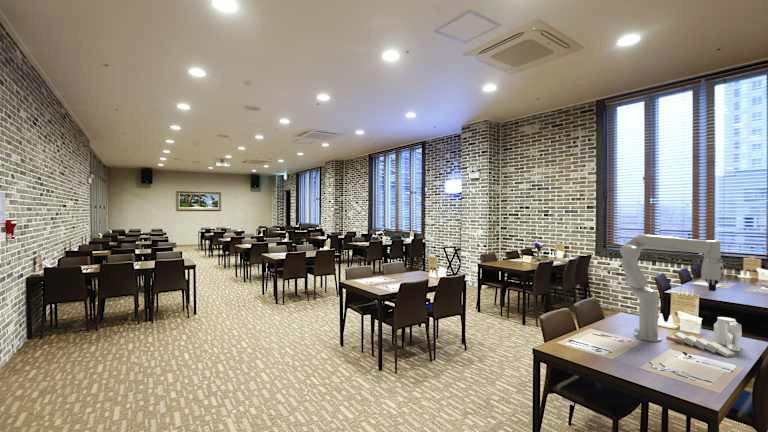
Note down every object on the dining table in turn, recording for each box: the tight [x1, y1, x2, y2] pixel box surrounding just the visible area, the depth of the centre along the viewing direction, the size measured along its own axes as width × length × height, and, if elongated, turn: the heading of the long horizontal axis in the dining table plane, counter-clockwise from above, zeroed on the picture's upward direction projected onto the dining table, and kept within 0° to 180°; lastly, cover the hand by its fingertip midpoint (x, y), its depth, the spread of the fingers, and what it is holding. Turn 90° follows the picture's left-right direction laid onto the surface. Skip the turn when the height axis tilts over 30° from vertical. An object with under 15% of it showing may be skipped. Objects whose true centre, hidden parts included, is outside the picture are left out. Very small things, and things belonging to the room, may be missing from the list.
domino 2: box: [673, 331, 695, 347], centre depth 221 cm, size 2×6×10 cm
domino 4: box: [695, 338, 718, 354], centre depth 210 cm, size 2×6×10 cm
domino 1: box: [665, 334, 687, 345], centre depth 226 cm, size 2×6×10 cm
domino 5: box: [707, 341, 735, 358], centre depth 205 cm, size 2×6×10 cm
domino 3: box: [685, 335, 708, 351], centre depth 216 cm, size 2×6×10 cm
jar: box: [713, 316, 737, 346], centre depth 221 cm, size 12×10×15 cm
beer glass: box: [725, 322, 743, 352], centre depth 211 cm, size 7×7×15 cm
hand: (712, 290), depth 220 cm, fingers closed
